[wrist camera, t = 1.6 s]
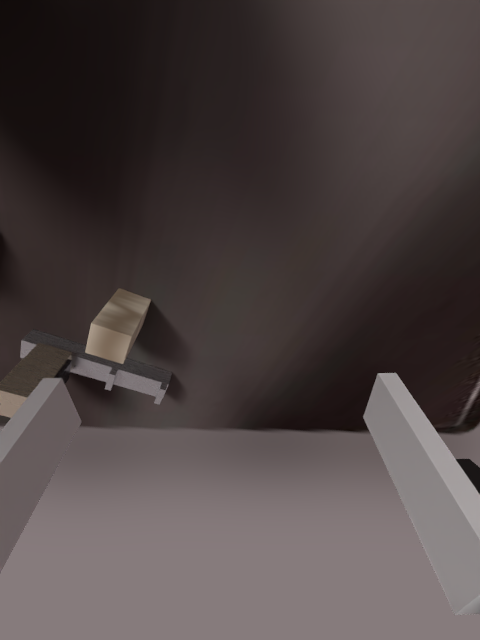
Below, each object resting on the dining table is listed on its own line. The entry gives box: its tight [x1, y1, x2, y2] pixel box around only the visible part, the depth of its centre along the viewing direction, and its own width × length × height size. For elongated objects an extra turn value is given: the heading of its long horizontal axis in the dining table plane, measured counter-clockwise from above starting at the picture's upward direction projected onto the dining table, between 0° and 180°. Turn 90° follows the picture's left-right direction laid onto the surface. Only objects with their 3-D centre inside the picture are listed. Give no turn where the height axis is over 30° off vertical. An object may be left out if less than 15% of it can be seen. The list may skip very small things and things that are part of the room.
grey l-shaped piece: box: [0, 329, 172, 418], centre depth 37 cm, size 19×4×10 cm, turn 66°
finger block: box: [85, 288, 151, 364], centre depth 33 cm, size 4×4×8 cm
